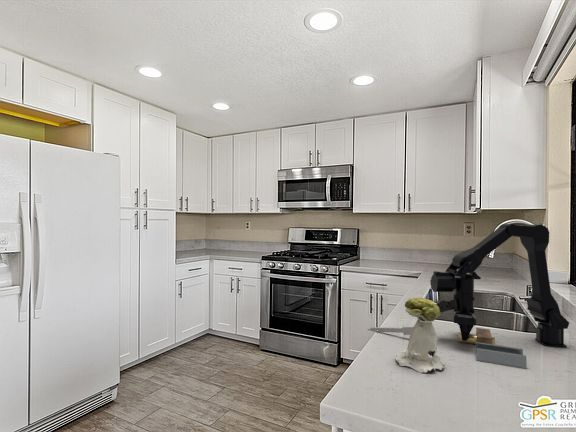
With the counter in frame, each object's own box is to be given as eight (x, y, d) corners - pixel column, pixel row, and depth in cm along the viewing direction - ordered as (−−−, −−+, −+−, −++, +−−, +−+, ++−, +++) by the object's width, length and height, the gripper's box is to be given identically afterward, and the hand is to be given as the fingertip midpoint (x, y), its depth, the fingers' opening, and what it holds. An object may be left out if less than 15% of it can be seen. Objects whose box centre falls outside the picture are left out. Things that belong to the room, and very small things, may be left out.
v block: (522, 359, 100) (522, 348, 101) (526, 368, 94) (526, 357, 94) (475, 352, 106) (475, 341, 106) (476, 360, 100) (476, 349, 100)
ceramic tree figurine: (407, 351, 106) (407, 291, 106) (451, 363, 97) (451, 298, 97) (389, 362, 97) (389, 297, 97) (435, 377, 88) (435, 305, 89)
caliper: (425, 343, 114) (425, 324, 114) (423, 344, 113) (424, 325, 113) (368, 330, 127) (368, 313, 127) (367, 330, 126) (367, 313, 126)
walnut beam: (489, 341, 116) (489, 329, 116) (492, 351, 107) (492, 338, 107) (476, 339, 117) (476, 327, 117) (477, 349, 108) (477, 336, 108)
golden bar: (494, 344, 112) (494, 335, 112) (494, 348, 109) (495, 339, 109) (458, 339, 117) (458, 330, 117) (458, 342, 114) (458, 334, 114)
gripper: (439, 285, 127) (439, 327, 126) (436, 294, 110) (436, 343, 110) (473, 288, 122) (473, 332, 122) (476, 298, 105) (476, 350, 105)
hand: (464, 339), depth 115 cm, fingers closed on golden bar, 3 cm apart
